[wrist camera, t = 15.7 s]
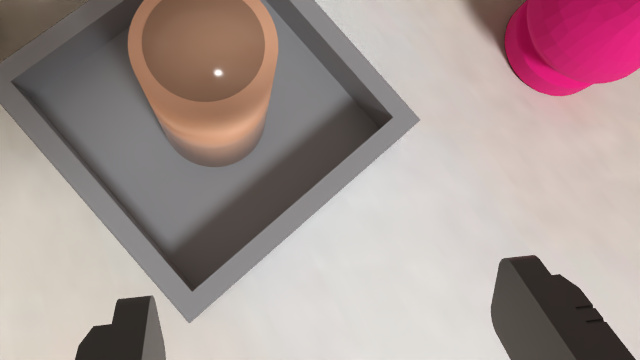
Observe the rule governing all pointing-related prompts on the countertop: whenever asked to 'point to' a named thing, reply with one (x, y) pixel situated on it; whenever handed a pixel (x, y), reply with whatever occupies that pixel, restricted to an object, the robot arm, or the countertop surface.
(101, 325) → the robot arm
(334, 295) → the countertop surface
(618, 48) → the pepper mill
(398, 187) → the countertop surface
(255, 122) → the terracotta cup
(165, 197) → the charcoal tray
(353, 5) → the countertop surface
